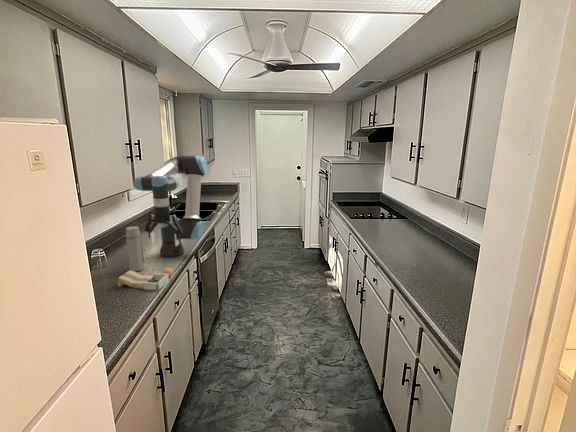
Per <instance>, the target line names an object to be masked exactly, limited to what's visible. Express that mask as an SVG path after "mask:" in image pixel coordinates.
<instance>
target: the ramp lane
mask: <svg viewBox="0 0 576 432" xmlns="http://www.w3.org/2000/svg"><path fill="white" fill-rule="evenodd" d="M155 281H156V280H155V277H154V275H149V274H148V275H146V274H142V273H140V272H138V271H137V272H134V271H132V270H130V269H129V270H127V272H125V273H123V274H122V275H120V276H119V277H118V278H117V287H119V288H122V287H123V286H124V285H125V286H128V287H131V288H135V289H143V282H152V283H154V282H155Z"/></svg>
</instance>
